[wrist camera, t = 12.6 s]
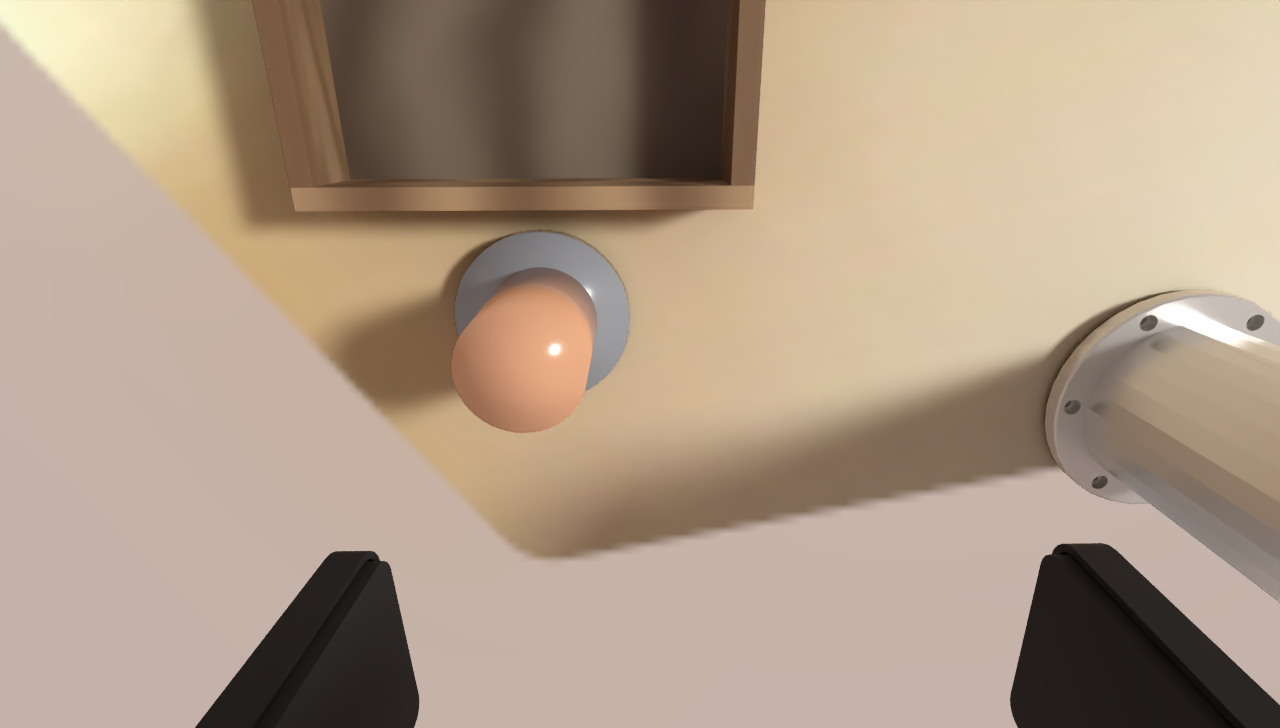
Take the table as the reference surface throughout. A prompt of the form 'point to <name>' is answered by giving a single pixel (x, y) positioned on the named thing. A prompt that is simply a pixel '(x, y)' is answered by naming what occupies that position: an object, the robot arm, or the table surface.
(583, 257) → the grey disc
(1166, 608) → the robot arm
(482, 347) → the peach rounded knob
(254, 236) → the table surface
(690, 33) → the wooden box
